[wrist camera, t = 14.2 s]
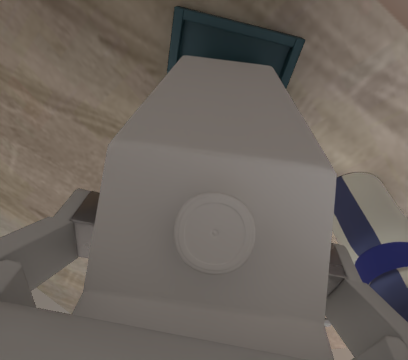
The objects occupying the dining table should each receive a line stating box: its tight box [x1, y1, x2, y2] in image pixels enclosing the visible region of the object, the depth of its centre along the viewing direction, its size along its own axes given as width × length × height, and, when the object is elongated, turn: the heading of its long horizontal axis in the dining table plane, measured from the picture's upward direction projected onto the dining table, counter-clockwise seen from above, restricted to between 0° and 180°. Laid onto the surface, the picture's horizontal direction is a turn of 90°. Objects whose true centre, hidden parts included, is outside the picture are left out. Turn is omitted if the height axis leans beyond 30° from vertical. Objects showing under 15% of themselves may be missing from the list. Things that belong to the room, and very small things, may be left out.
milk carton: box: [72, 55, 337, 360], centre depth 14 cm, size 7×7×19 cm
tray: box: [167, 6, 305, 88], centre depth 26 cm, size 12×12×2 cm
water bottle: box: [332, 172, 408, 322], centre depth 23 cm, size 8×9×25 cm
